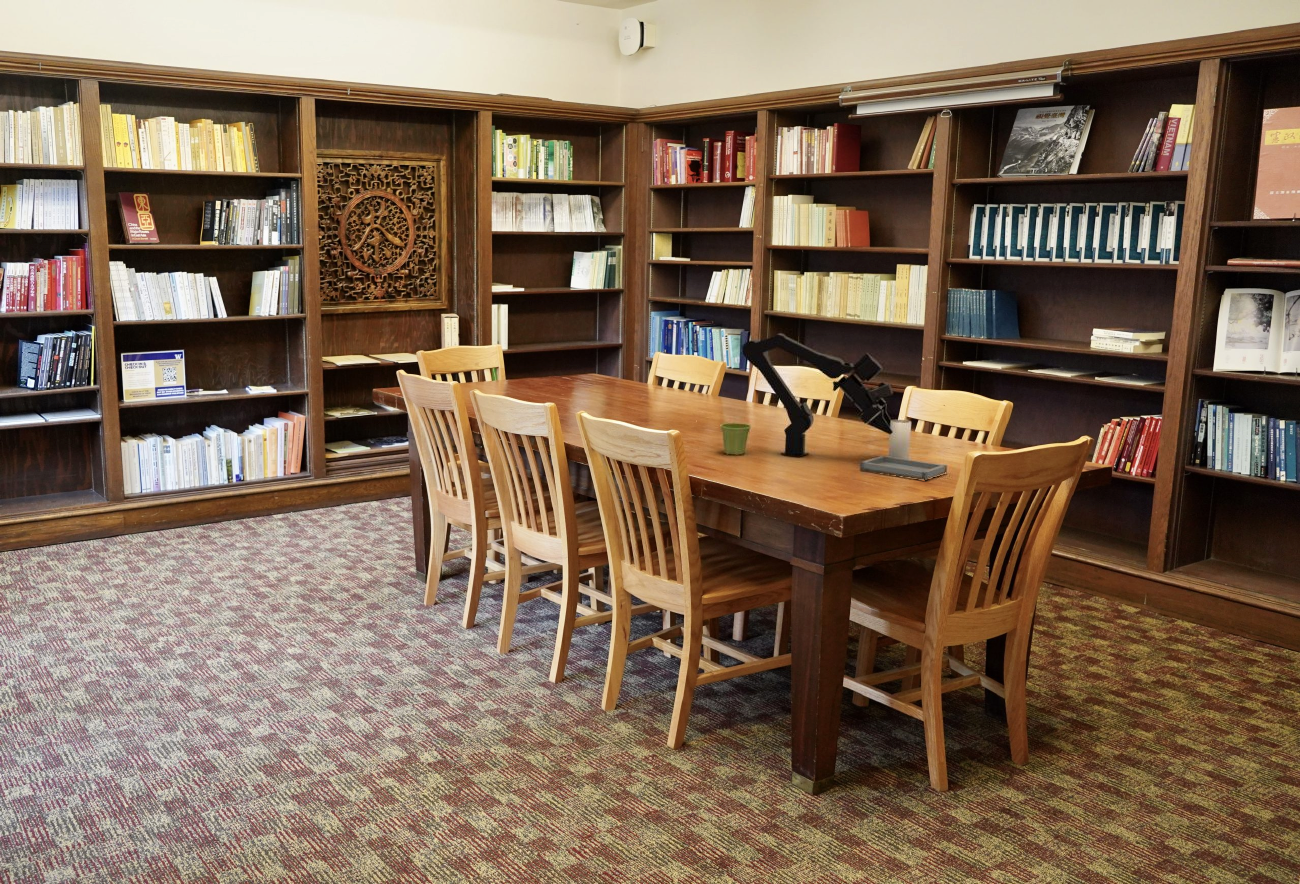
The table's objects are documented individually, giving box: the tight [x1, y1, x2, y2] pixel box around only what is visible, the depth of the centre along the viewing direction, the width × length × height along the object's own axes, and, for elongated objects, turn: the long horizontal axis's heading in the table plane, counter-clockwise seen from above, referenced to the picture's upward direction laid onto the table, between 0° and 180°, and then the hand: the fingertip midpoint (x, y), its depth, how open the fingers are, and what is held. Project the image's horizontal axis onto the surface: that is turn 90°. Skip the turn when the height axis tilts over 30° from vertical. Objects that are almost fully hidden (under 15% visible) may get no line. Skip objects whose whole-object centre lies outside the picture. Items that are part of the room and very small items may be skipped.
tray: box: [859, 455, 948, 480], centre depth 318 cm, size 14×20×2 cm
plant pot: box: [719, 422, 752, 455], centre depth 339 cm, size 9×9×9 cm
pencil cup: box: [887, 419, 912, 460], centre depth 331 cm, size 6×6×12 cm
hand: (892, 430), depth 331 cm, fingers open, 9 cm apart
